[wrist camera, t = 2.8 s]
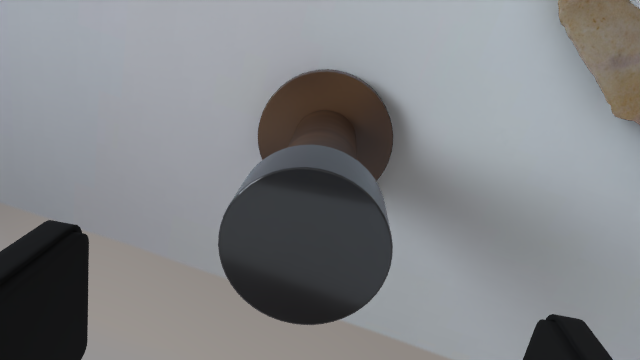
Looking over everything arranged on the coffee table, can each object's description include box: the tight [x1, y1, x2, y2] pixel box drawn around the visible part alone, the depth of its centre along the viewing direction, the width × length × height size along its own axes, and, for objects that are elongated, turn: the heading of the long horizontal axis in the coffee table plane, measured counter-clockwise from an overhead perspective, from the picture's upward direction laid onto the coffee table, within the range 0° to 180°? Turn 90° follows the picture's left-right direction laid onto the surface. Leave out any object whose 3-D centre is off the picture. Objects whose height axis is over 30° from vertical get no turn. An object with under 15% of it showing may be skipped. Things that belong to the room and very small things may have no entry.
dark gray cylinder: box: [218, 145, 393, 325], centre depth 14 cm, size 5×5×2 cm
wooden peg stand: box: [258, 70, 393, 181], centre depth 21 cm, size 7×7×11 cm
